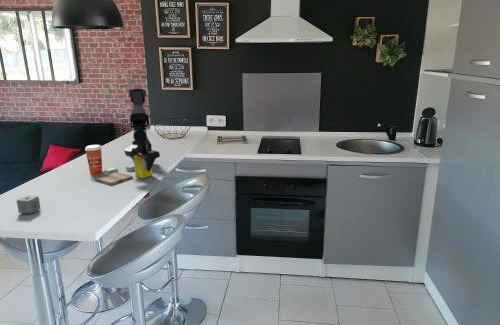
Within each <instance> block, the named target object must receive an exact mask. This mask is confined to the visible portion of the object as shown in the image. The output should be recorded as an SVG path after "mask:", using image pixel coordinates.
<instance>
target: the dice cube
mask: <svg viewBox="0 0 500 325" xmlns="http://www.w3.org/2000/svg"><path fill="white" fill-rule="evenodd" d="M40 203H41V202H40V197H39V195H24V196H23V197H20V198H18V199H16V205H17V211H18V213H19V214H27V215H28V214H33V213H35V212H37V211H39V210H40V209H41V204H40Z"/></svg>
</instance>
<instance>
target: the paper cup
mask: <svg viewBox="0 0 500 325" xmlns="http://www.w3.org/2000/svg"><path fill="white" fill-rule="evenodd" d="M102 149H103V148H102V145H101V144H91V145H87V146H85V149H84V150H85V154H86V159H87V163H88V168H89V174H90V175H96V174H97V175H98V174H102V173H103V160H102V159H103V158H102Z"/></svg>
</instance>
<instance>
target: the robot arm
mask: <svg viewBox="0 0 500 325" xmlns="http://www.w3.org/2000/svg"><path fill="white" fill-rule="evenodd" d="M128 97H129V99H130V101H131V103H132V104H133V108H132V109H131V114H129V115H130V117H129V120H130V128H131V129H133V139H134V140H132V142H131V145H129V146H128V147H126V148H124V149H123V150H124V151H123V152H124V155H125V156H126V157H129V158H131V160H132V162H133V163H134V156H135V155H144V156H145V159H144V160H145V161H146V164H147V170H148V172H149V171H150V170H151V168H152V169H153V165H154V163H155V161H156V159H158V158H160V157H161V155H160V152H159V151H157V150H153V149H152V143H151V141H150V139H149V137H148V134H147V128H149V126H150V118H149V114H148V113H146V109H145V108H144V107H143V106H144V104H145V102H146V98H147V91H146V89H144V88H141V87H140V88H139V87H138V88H137V87H135V88H131V89H129V90H128Z"/></svg>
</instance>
